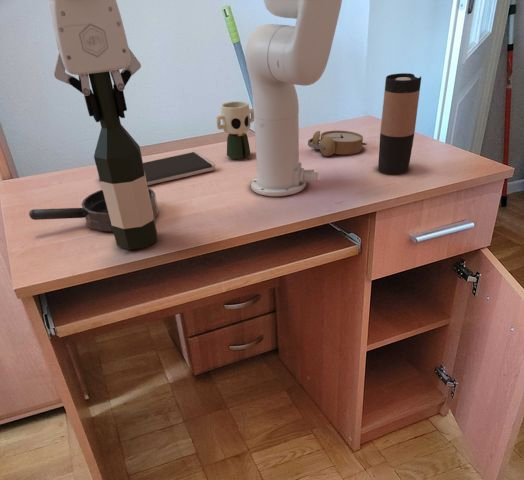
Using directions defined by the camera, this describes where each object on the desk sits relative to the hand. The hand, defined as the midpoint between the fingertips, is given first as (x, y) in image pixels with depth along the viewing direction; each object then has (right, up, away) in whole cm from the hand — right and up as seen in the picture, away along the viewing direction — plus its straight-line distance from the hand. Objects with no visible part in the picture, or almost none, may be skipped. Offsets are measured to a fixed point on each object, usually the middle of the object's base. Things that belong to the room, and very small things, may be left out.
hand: (109, 117), depth 83 cm
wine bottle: (+1, -17, +14) cm, 22 cm away
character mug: (+19, +13, +50) cm, 55 cm away
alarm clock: (+45, +14, +51) cm, 69 cm away
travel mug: (+57, +5, +37) cm, 68 cm away
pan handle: (-16, -13, +19) cm, 28 cm away
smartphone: (-1, +5, +43) cm, 43 cm away
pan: (-4, -10, +24) cm, 26 cm away
